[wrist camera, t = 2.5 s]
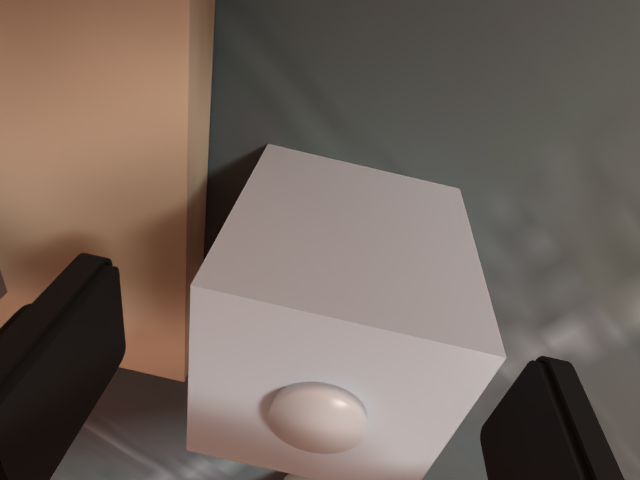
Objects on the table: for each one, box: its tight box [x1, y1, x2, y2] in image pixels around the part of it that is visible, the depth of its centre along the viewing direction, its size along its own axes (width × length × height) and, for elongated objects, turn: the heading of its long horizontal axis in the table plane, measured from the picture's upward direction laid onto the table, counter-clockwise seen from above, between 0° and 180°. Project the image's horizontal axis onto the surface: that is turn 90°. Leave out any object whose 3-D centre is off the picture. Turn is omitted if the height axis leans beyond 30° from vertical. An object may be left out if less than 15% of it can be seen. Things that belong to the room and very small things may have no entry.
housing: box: [187, 144, 506, 480], centre depth 10 cm, size 5×5×6 cm
